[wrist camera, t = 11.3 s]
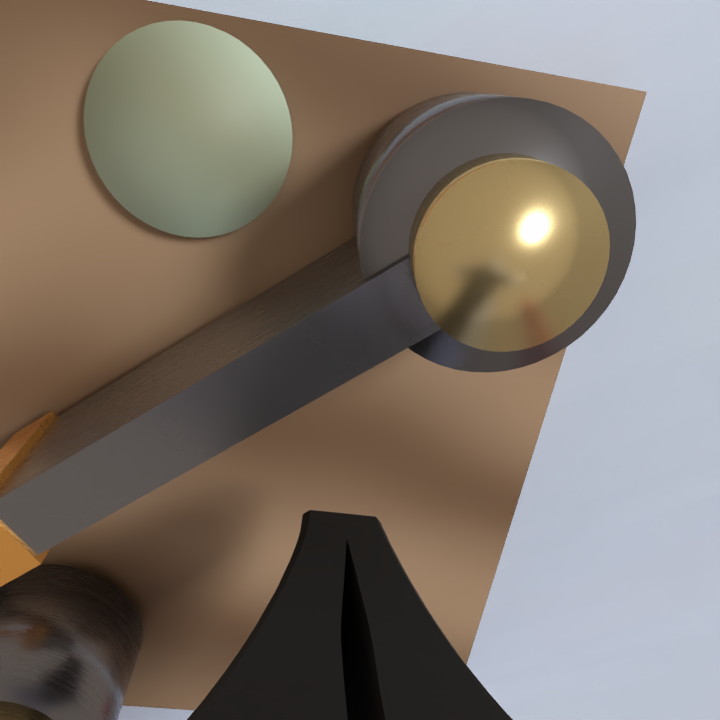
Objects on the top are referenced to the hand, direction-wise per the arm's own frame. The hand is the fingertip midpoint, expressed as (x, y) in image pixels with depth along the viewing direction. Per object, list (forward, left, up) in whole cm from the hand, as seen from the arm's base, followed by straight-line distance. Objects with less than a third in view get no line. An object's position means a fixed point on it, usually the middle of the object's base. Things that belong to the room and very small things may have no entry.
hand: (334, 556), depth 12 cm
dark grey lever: (+4, +2, -3) cm, 5 cm away
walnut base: (0, +4, -5) cm, 6 cm away
